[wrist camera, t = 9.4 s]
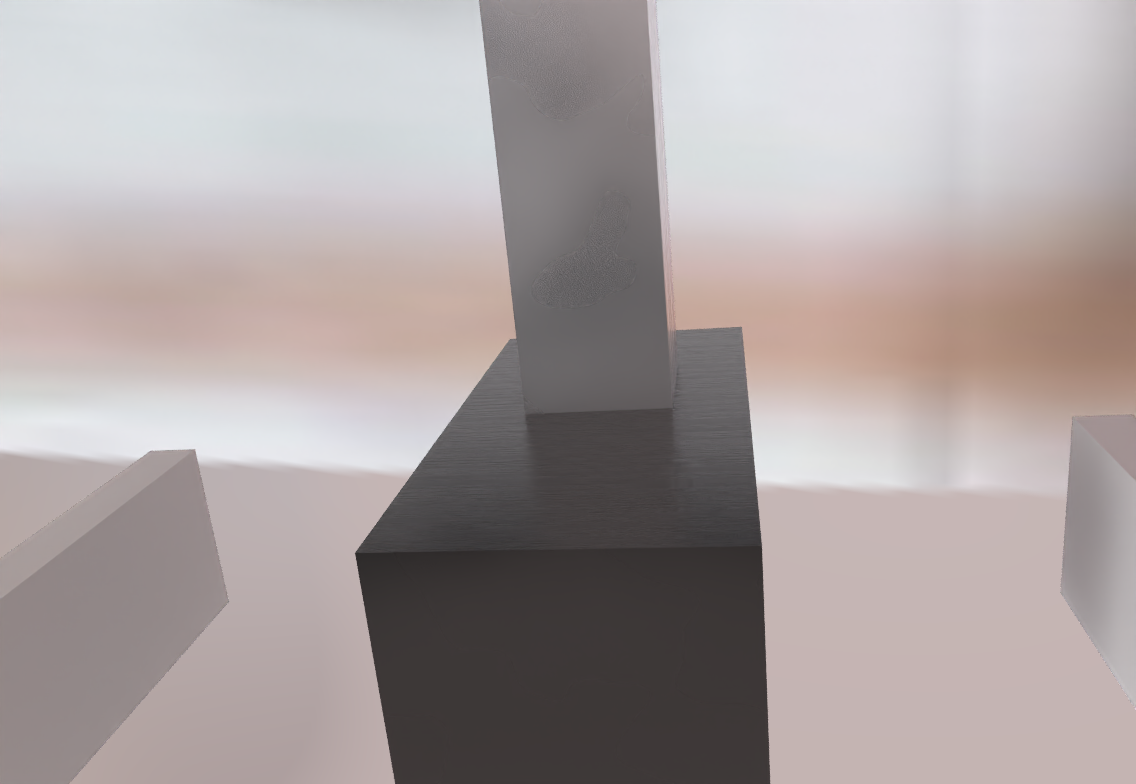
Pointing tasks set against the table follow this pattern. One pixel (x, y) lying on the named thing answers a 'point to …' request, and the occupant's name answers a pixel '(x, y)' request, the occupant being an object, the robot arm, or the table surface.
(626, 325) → the shaft
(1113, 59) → the table surface
